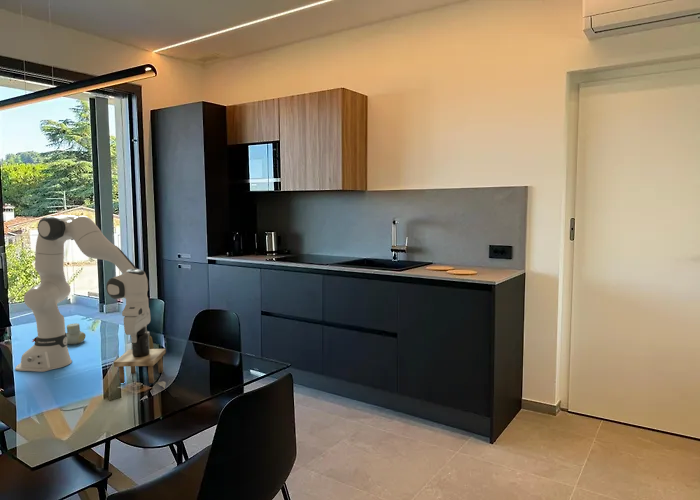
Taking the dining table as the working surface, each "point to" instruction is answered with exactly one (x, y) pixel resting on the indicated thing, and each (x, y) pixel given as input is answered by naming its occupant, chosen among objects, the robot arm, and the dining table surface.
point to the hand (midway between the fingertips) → (139, 338)
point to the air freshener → (74, 334)
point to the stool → (140, 363)
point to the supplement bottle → (141, 344)
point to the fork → (162, 384)
